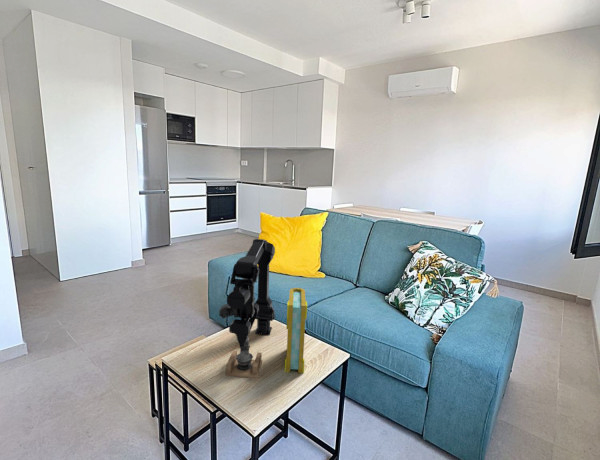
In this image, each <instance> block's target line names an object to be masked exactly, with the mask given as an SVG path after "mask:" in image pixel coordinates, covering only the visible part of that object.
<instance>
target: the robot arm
mask: <svg viewBox="0 0 600 460" xmlns="http://www.w3.org/2000/svg"><path fill="white" fill-rule="evenodd" d="M275 253H276V247H275V246H274V244H273V243H271V242H268V240H266V239H263V238H261V239H260V238H254V239H253V240H252V245H251V246H250V248H249V249H248V250H247V253H246V254H245V256H243V257H242V256H241V257H240V258H239V259H238V260H236V263H234V265H233V269H232V274H231V276H230V282H229V284H230V285H234V286H233V290H232V291H231V292H230V293H228V295H227V298H226V301H227V303H226V304H223V305H221V306H220V308H219V309H218V310H219V311H218V312H219V314H218V315H219V317H221V318H222V319H226V318H229V317H232V316H233V318H236V319H233V320H232V321H231V323H230V325H229V327H228V329H229V330H228V332H229V333H231V334H234V335H235V336H236V339H237V341H238V346H239V348H240V347H243V346H244V344H245V341H246V339H247V337H248V338H249V334H250V332H251V329H252V328H253V325H254V323H255V321H256V329H255V331H254V334H255V335H263V336H265V335H267V336H270V335H271V332H272V329H273V327H272V326H271V322H273V321H274V320H275V319H276V314H275V313H276V312H275V309H274V307H273V301H272V299H271V298H270V293H269V290H270V289H269V288H270V287H269V286H270V264H271V262H272V260H273V259H274V256H275ZM256 283H257V299H256V297H255V284H256ZM237 318H239V319H237Z"/></svg>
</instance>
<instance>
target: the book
mask: <svg viewBox="0 0 600 460" xmlns="http://www.w3.org/2000/svg"><path fill="white" fill-rule="evenodd" d="M286 305H287V306H286V307H287V308H286V309H287V310H286V330H287V340H286V341H287V342H286V343H287V344H286V358H284V359H285V360H284V373H288V374H289V373H291V370H298V371H297V372H298V374H304V373H305V358H304V351H305V350H304V348H305V333H306V332H305V327H306V320H307V318H308V301H307V300H306V290H305V289H304V288H302V287H292V288H290V289H289V297H288V300H287V304H286Z"/></svg>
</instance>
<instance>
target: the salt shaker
mask: <svg viewBox="0 0 600 460" xmlns="http://www.w3.org/2000/svg"><path fill="white" fill-rule="evenodd" d="M250 348H251V346H250V338H249V336H248V337H247V339H246V341H245V344H244V346H243V347H240V346H239V349H240V352H239V353H237V356H236V359H237V362H238V363H239V364H238V365H237V369H239V370H242V371H246V370H249V369H250V368H251V367H252V364H251V361H252V360H253V359H254V355H253V354H252V353H251V352H250Z"/></svg>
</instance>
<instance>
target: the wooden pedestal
mask: <svg viewBox="0 0 600 460" xmlns="http://www.w3.org/2000/svg"><path fill="white" fill-rule="evenodd" d="M237 355H238V350H232V352H231V355H230V356H229V358H228V360H227V362H226V365H225V367H226V368H225V369H226V370H225V372H224V373H225V376H227V377H228V376H229V377H239V378H240V377H241V378H252V379H253V378H254V379H258V378H259V374H260V372H261V371H260V370H261V367H262V364H263V360H262V356H263V355H262V352H259V351H257V353H256V355H255V359H252V361H251V364H252V367H251V368H250V369H249V370H246V371H242V370H239V369H237V365H238V364H239V363H238V362H237V359H236V356H237Z"/></svg>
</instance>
